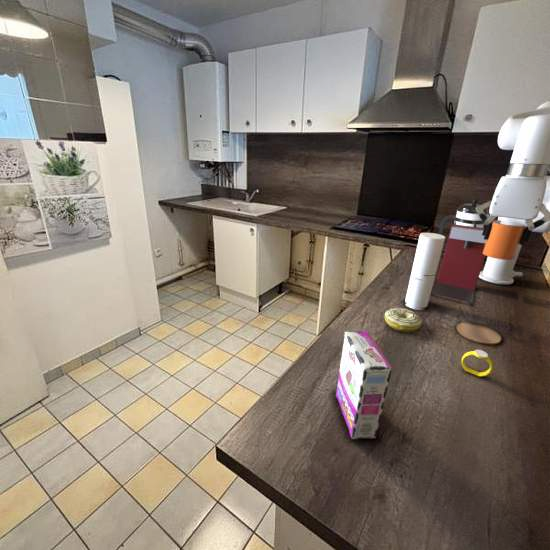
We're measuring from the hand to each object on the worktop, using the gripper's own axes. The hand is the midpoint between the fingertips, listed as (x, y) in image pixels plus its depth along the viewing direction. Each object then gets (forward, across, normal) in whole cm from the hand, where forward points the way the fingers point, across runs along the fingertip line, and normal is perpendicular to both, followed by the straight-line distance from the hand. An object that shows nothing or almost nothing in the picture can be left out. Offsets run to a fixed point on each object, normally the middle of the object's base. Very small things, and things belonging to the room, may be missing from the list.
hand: (502, 240), depth 79 cm
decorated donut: (+28, +18, +12) cm, 35 cm away
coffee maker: (+28, +8, -26) cm, 39 cm away
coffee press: (+28, +12, -71) cm, 77 cm away
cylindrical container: (+28, +18, -4) cm, 33 cm away
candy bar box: (+28, +17, +53) cm, 62 cm away
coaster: (+28, -1, +3) cm, 28 cm away
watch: (+28, -1, +24) cm, 37 cm away
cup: (+4, 0, 0) cm, 4 cm away
